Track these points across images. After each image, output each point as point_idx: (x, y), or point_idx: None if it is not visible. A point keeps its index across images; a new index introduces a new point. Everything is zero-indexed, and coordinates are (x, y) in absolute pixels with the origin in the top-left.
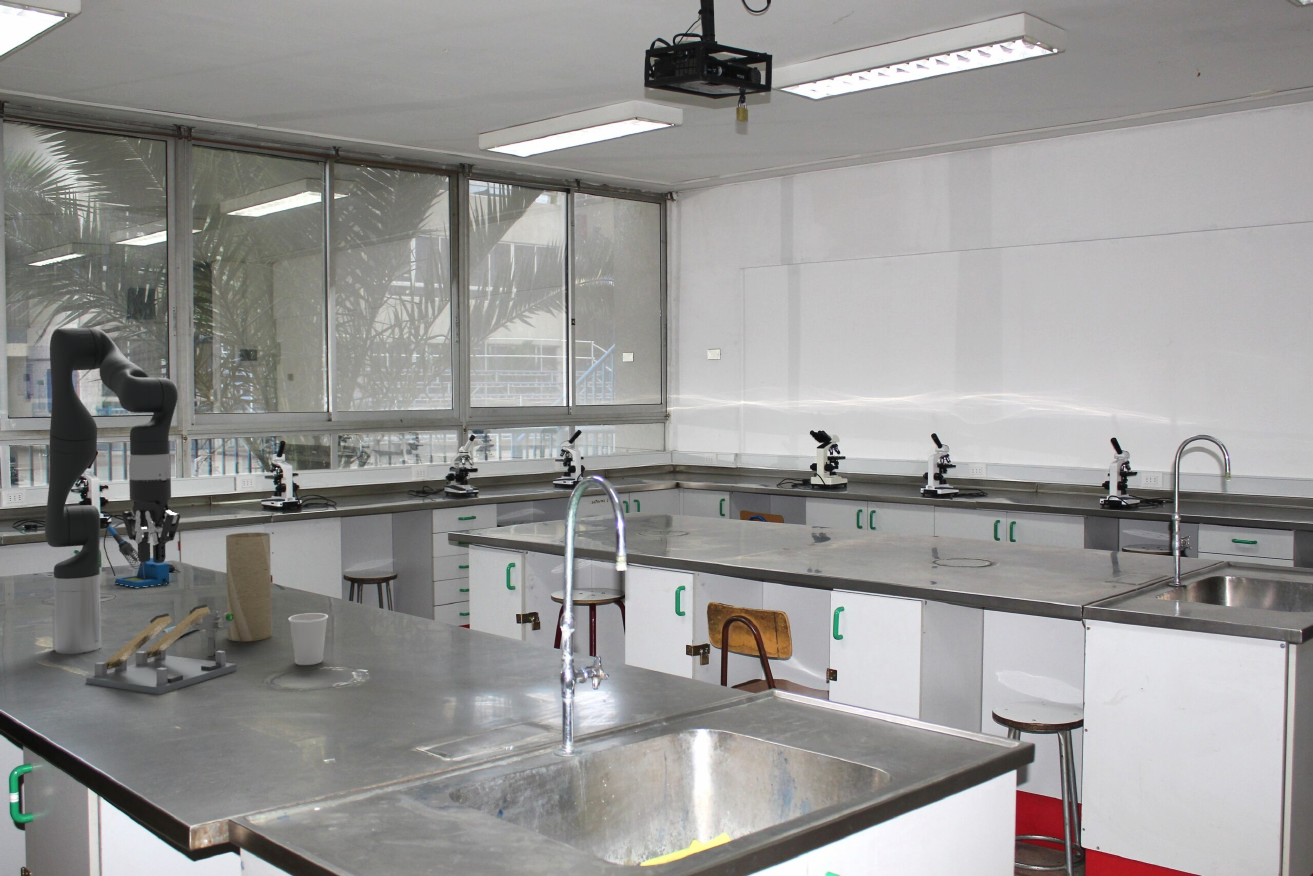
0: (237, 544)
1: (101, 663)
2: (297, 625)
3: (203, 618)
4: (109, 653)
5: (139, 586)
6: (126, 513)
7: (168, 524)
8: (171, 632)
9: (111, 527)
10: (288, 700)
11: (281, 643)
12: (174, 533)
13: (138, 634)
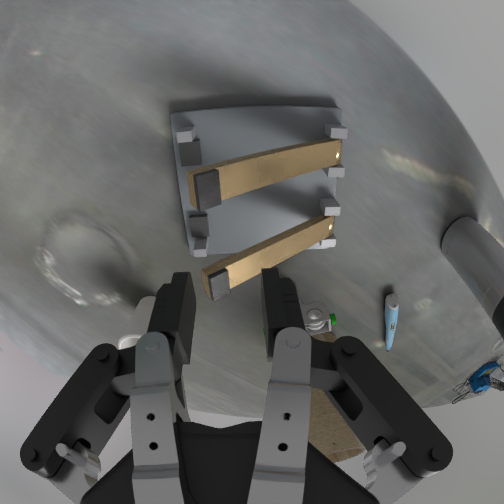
0: (333, 443)
1: (335, 131)
2: (134, 331)
3: (305, 318)
4: (424, 244)
5: (483, 368)
6: (422, 469)
7: (40, 419)
8: (275, 240)
9: None
10: (28, 188)
11: (257, 344)
12: (99, 402)
13: (257, 157)
